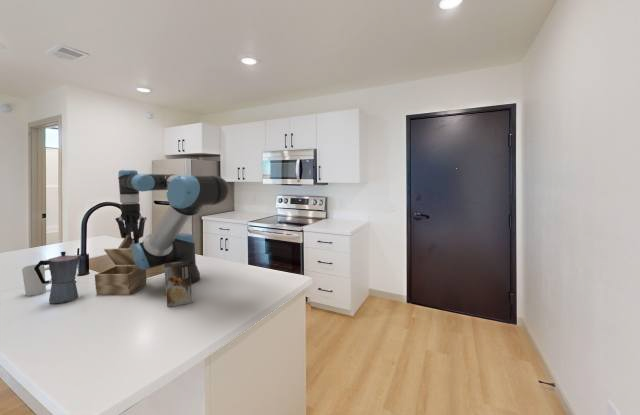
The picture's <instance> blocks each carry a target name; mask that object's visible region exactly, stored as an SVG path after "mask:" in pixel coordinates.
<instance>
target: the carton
mask: <svg viewBox="0 0 640 415" xmlns="http://www.w3.org/2000/svg"><path fill="white" fill-rule="evenodd" d="M94 281H95V282H94V283H95V284H94V285H95V291H96V292H95V293H96V296H130V295H132V294H133V293H135V292H137V291H138V290H140V289H142V288H144V285H145V286H146V285H147V282H148V281H147V269H144V270H141V269H139V268H138V267H137V266H136V265H114V266H112V267H110V268H107V269H105V270H102V271H100V272H98V273H95V274H94ZM141 287H142V288H141ZM139 288H140V289H139Z"/></svg>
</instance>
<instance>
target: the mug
mask: <svg viewBox="0 0 640 415" xmlns="http://www.w3.org/2000/svg"><path fill="white" fill-rule="evenodd" d="M37 264H38V263H36V264H30V265H26V266H22V267H21V270H22V271H21V272H22V273H21V274H22V278H23V287H24V291H25V296H28V297H34V296H37V295H38V296H39V295H41V294H42V295H43V294H44V293H46V292H47V288H46V287H47V286H48V285H52V278H50V279H49V280H48V281H50V282H49V283H46V284H42V282H41V281H40V279H39V277H38V275H37V273H36V271H35V270H34V267H35V266H36V265H37ZM39 269H40V272H41V274H42V276H43V278H44V280H45V281H46V274H45V272H46V271H50V268H49V265H47V267H46V266H45V265H41V266H40V267H39Z"/></svg>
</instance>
